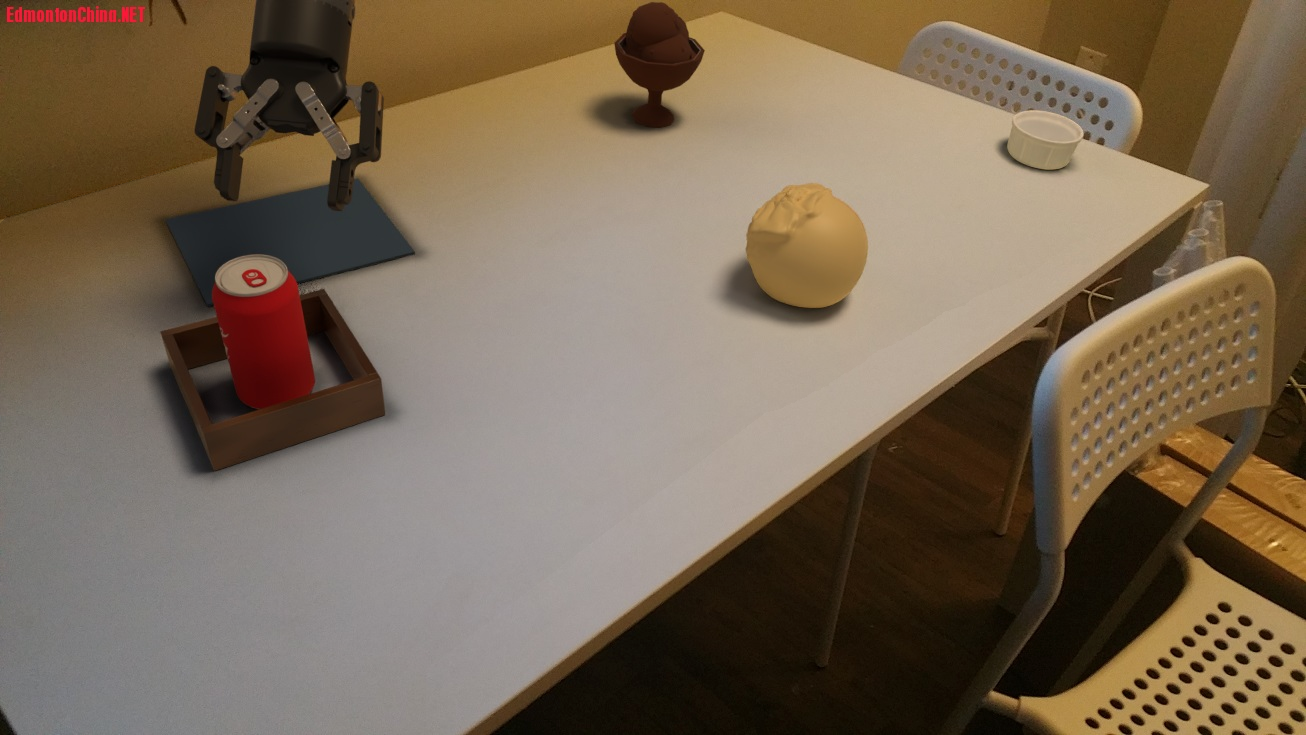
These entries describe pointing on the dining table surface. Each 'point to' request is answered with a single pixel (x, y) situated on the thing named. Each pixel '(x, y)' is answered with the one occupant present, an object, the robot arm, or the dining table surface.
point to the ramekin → (1043, 139)
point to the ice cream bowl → (657, 58)
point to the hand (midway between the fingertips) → (282, 204)
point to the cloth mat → (289, 235)
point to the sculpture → (807, 246)
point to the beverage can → (263, 330)
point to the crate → (287, 418)
